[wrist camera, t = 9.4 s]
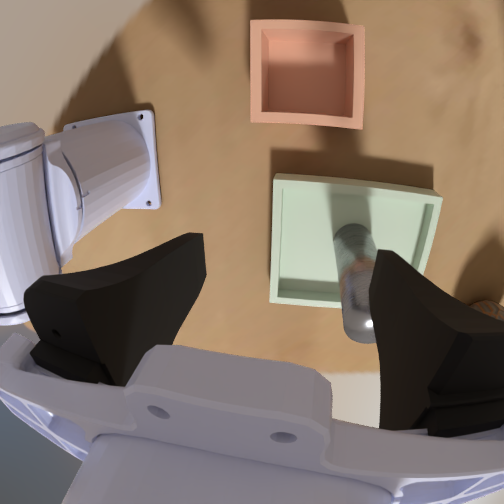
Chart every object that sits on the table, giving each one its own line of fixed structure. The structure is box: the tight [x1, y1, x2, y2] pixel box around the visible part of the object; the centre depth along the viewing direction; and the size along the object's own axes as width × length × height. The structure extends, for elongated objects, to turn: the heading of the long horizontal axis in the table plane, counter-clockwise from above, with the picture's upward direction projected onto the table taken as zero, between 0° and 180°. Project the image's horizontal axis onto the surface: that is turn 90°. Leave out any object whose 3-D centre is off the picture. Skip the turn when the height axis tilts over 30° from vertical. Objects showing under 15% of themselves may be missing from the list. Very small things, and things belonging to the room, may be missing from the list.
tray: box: [270, 173, 443, 308], centre depth 21 cm, size 12×10×2 cm
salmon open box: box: [250, 20, 365, 130], centre depth 15 cm, size 6×6×4 cm
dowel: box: [333, 223, 378, 344], centre depth 18 cm, size 3×3×9 cm
